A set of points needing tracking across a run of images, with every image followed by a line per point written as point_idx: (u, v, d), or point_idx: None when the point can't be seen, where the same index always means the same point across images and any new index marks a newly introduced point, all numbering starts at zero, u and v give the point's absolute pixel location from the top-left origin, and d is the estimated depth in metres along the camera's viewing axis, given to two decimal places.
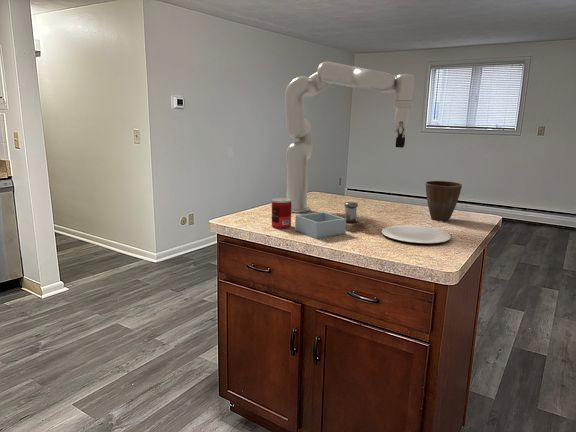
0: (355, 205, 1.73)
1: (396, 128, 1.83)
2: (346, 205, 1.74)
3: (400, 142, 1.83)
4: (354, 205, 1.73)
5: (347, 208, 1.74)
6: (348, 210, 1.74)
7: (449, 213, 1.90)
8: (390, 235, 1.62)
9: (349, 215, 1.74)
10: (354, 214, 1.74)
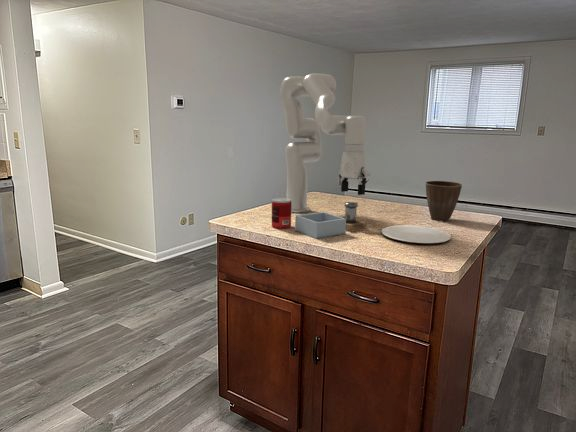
0: (355, 205, 1.73)
1: (358, 174, 1.67)
2: (346, 205, 1.74)
3: (363, 189, 1.69)
4: (354, 205, 1.73)
5: (347, 208, 1.74)
6: (348, 210, 1.74)
7: (449, 213, 1.90)
8: (390, 235, 1.62)
9: (349, 215, 1.74)
10: (354, 214, 1.74)
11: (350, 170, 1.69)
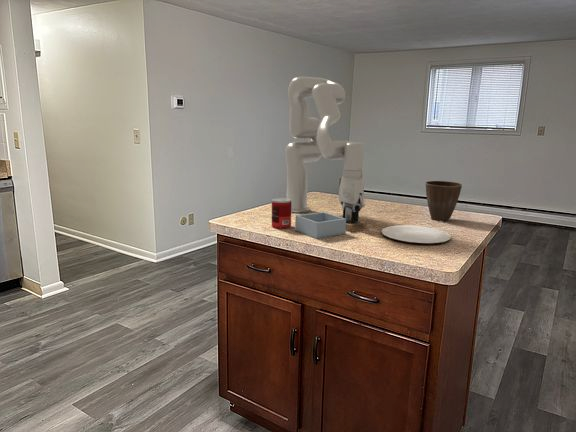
0: (355, 205, 1.73)
1: (356, 200, 1.70)
2: (346, 205, 1.74)
3: (357, 216, 1.73)
4: None
5: (347, 208, 1.74)
6: (348, 210, 1.74)
7: (449, 213, 1.90)
8: (390, 235, 1.62)
9: (349, 215, 1.74)
10: None
11: (348, 195, 1.72)
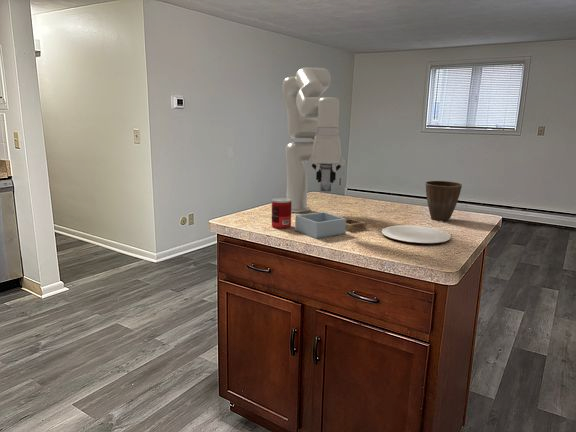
0: None
1: (340, 159, 1.61)
2: (326, 166, 1.62)
3: (335, 176, 1.65)
4: None
5: (326, 169, 1.63)
6: (327, 171, 1.63)
7: (449, 213, 1.90)
8: (390, 235, 1.62)
9: (329, 176, 1.63)
10: (331, 175, 1.65)
11: (330, 155, 1.61)
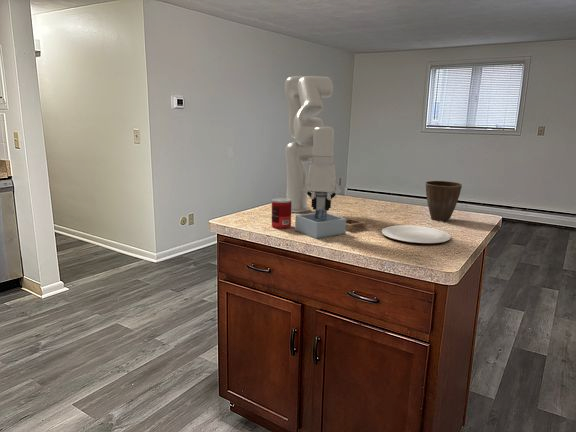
0: None
1: (334, 187, 1.63)
2: (321, 194, 1.63)
3: (330, 204, 1.66)
4: None
5: (321, 197, 1.64)
6: (322, 199, 1.64)
7: (449, 213, 1.90)
8: (390, 235, 1.62)
9: (324, 204, 1.65)
10: None
11: (324, 183, 1.62)
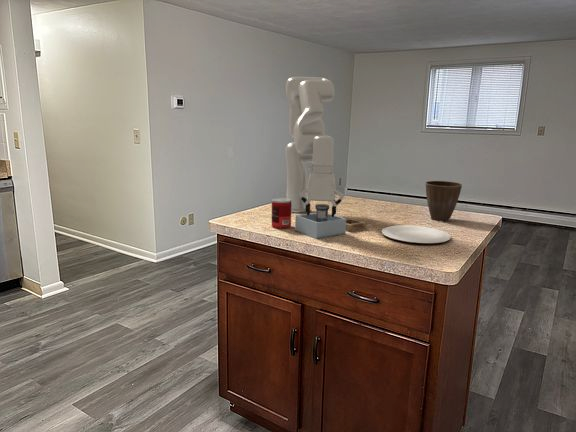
0: None
1: (334, 196, 1.63)
2: (321, 208, 1.64)
3: None
4: (328, 207, 1.66)
5: (322, 211, 1.65)
6: (323, 213, 1.65)
7: (449, 213, 1.90)
8: (390, 235, 1.62)
9: (325, 218, 1.66)
10: (327, 216, 1.67)
11: (324, 192, 1.63)
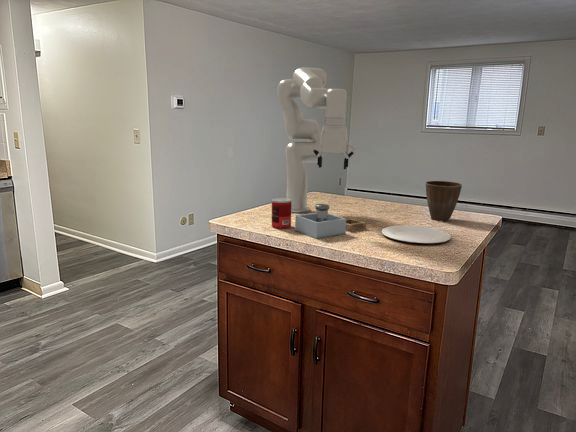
0: None
1: (346, 149, 1.67)
2: (321, 208, 1.64)
3: None
4: (328, 206, 1.66)
5: (322, 211, 1.65)
6: (323, 212, 1.65)
7: (449, 213, 1.90)
8: (390, 235, 1.62)
9: (325, 218, 1.66)
10: (327, 216, 1.67)
11: (336, 145, 1.66)
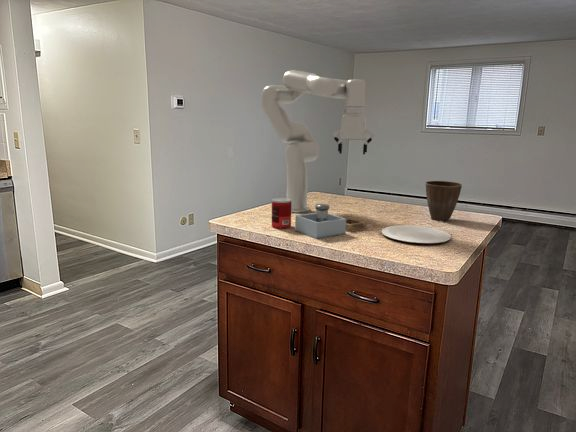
0: None
1: (365, 135, 1.79)
2: (321, 208, 1.64)
3: (366, 149, 1.82)
4: (328, 207, 1.66)
5: (322, 211, 1.65)
6: (323, 212, 1.65)
7: (449, 213, 1.90)
8: (390, 235, 1.62)
9: (325, 218, 1.66)
10: (327, 216, 1.67)
11: (356, 131, 1.78)
